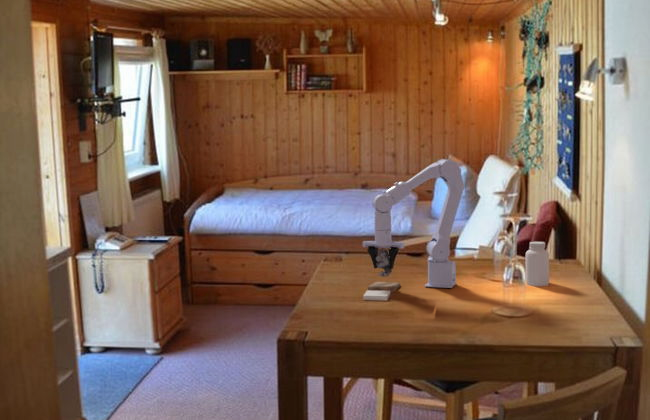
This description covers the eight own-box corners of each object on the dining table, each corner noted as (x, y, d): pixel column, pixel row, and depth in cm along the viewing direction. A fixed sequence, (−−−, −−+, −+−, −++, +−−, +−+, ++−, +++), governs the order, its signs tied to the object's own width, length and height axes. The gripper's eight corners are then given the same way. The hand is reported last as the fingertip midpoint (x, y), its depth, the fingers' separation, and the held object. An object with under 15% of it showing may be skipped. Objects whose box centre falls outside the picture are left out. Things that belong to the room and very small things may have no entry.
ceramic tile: (390, 295, 269) (390, 290, 269) (387, 300, 261) (387, 296, 261) (367, 294, 270) (367, 290, 270) (363, 300, 263) (363, 295, 262)
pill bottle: (546, 282, 281) (546, 240, 280) (550, 287, 274) (551, 244, 272) (523, 282, 282) (523, 240, 281) (527, 287, 274) (527, 244, 273)
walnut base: (400, 288, 279) (400, 282, 278) (392, 294, 270) (392, 287, 270) (376, 287, 282) (376, 281, 282) (367, 292, 274) (367, 286, 274)
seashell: (384, 278, 272) (384, 249, 271) (373, 276, 276) (372, 248, 274) (394, 276, 276) (394, 247, 274) (383, 274, 279) (382, 246, 278)
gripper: (406, 228, 275) (407, 267, 276) (366, 227, 280) (367, 265, 282) (400, 231, 268) (401, 270, 270) (360, 230, 274) (361, 268, 275)
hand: (383, 268), depth 275 cm, fingers closed on seashell, 5 cm apart
